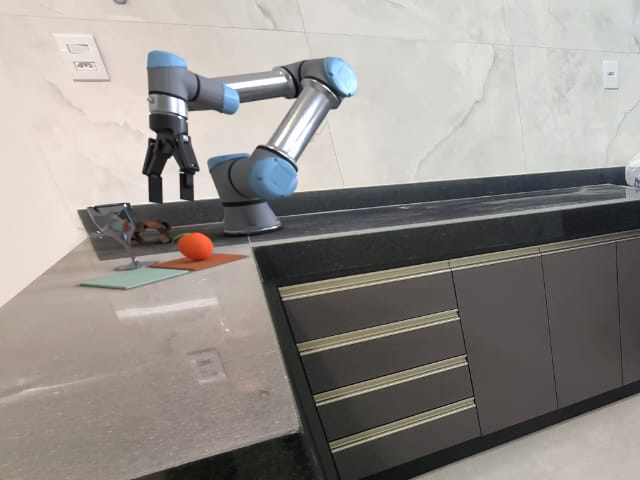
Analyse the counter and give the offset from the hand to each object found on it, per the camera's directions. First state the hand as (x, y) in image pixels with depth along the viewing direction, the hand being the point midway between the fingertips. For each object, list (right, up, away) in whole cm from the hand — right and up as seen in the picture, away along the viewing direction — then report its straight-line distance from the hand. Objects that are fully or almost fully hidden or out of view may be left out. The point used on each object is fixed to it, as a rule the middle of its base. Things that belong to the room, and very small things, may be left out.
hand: (171, 201), depth 137 cm
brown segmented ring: (-26, -5, +24) cm, 36 cm away
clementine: (+9, -16, -2) cm, 18 cm away
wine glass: (-6, -17, -3) cm, 19 cm away
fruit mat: (+9, -16, -2) cm, 19 cm away
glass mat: (+5, -22, -14) cm, 27 cm away
